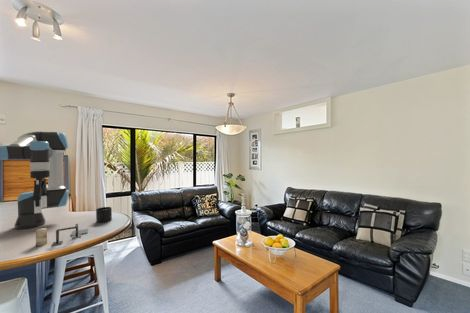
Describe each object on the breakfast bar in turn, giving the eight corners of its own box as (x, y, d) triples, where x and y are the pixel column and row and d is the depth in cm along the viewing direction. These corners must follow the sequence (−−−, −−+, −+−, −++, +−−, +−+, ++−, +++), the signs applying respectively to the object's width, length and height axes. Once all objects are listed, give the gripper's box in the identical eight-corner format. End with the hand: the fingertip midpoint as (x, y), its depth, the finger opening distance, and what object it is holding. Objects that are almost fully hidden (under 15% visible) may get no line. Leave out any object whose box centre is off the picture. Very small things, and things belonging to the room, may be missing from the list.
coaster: (72, 232, 130) (72, 231, 130) (87, 229, 134) (87, 228, 134) (70, 236, 123) (70, 235, 123) (87, 233, 127) (87, 232, 127)
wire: (55, 239, 118) (54, 225, 118) (81, 235, 125) (81, 221, 125) (52, 246, 110) (51, 231, 110) (80, 240, 117) (80, 226, 117)
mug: (93, 224, 143) (93, 211, 143) (98, 219, 155) (98, 207, 155) (109, 223, 147) (109, 210, 147) (112, 218, 158) (112, 206, 158)
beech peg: (37, 244, 113) (36, 229, 113) (47, 242, 115) (47, 227, 115) (35, 247, 109) (34, 231, 109) (46, 244, 112) (46, 229, 111)
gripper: (35, 169, 120) (36, 206, 120) (23, 172, 99) (24, 216, 100) (53, 168, 124) (53, 204, 124) (44, 171, 104) (45, 214, 104)
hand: (40, 210), depth 112 cm, fingers open, 13 cm apart
